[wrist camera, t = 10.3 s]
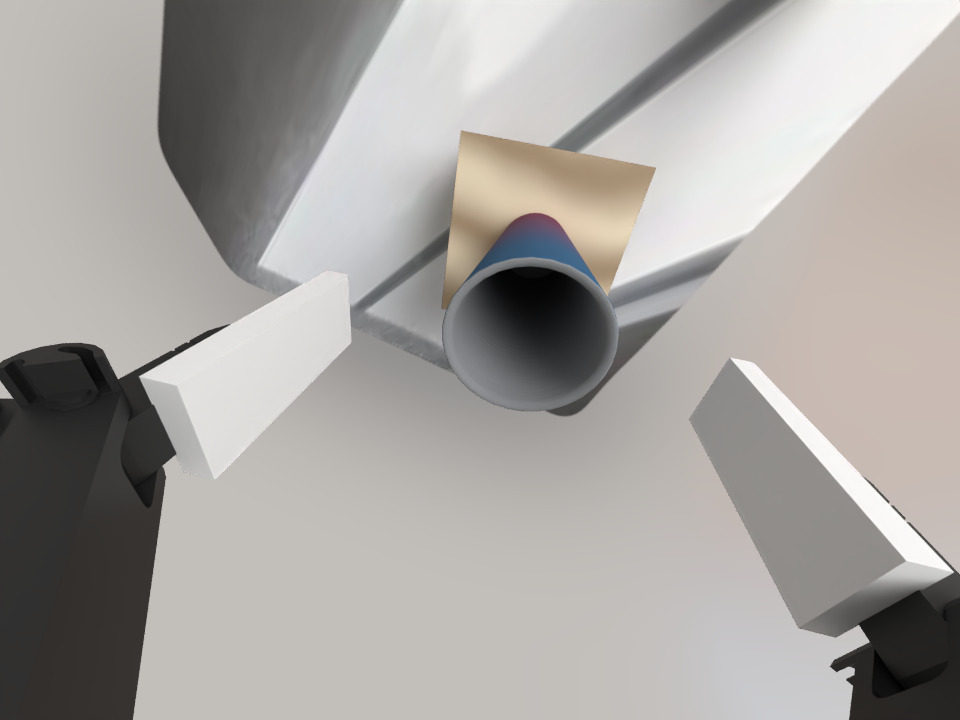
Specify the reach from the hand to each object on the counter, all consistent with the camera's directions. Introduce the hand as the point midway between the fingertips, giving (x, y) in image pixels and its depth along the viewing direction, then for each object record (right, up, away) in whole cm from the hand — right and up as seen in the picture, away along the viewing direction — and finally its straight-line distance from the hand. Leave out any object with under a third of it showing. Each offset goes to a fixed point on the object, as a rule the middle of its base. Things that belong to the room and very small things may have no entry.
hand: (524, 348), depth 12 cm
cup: (+2, +8, +14) cm, 16 cm away
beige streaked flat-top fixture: (+4, +12, +21) cm, 24 cm away
